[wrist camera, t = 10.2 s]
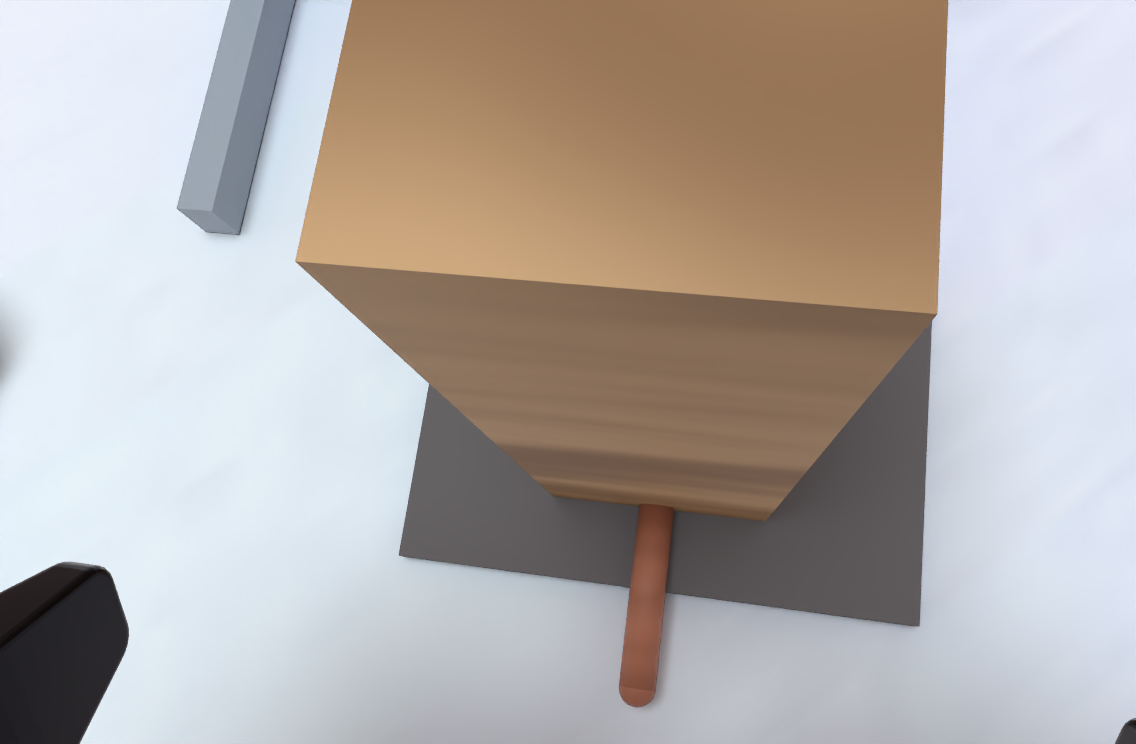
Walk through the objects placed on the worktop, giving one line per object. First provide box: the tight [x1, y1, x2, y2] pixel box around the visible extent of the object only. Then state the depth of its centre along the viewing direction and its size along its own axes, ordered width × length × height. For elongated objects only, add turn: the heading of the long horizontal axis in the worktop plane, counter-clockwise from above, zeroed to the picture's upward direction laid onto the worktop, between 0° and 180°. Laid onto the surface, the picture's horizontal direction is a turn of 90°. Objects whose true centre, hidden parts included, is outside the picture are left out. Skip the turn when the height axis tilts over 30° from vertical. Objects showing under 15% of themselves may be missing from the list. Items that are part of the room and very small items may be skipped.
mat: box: [399, 321, 932, 626], centre depth 22 cm, size 8×12×1 cm, turn 82°
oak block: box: [295, 0, 948, 707], centre depth 14 cm, size 9×5×15 cm, turn 172°
